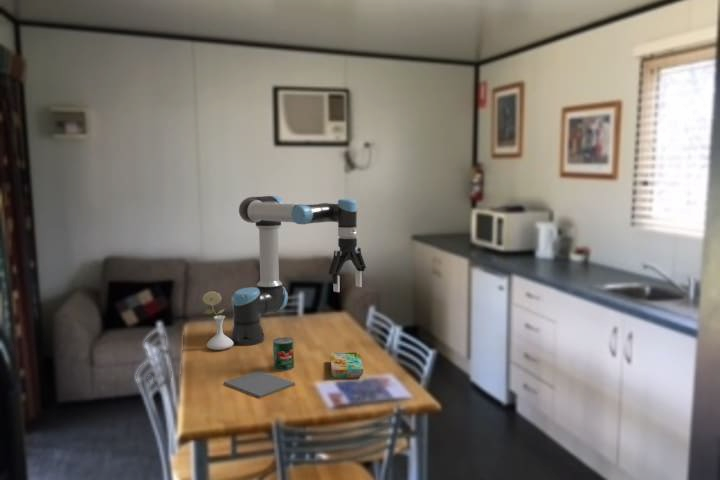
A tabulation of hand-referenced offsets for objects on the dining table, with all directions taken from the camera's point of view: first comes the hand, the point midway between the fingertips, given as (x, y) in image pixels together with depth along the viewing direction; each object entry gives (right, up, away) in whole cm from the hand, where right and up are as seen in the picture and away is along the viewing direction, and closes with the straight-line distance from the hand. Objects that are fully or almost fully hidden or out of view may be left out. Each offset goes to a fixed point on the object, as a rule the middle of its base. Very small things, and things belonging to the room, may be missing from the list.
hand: (347, 289), depth 237 cm
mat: (-31, -32, -29) cm, 53 cm away
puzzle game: (0, -30, -14) cm, 33 cm away
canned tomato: (-25, -30, -11) cm, 40 cm away
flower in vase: (-56, -27, +14) cm, 64 cm away
